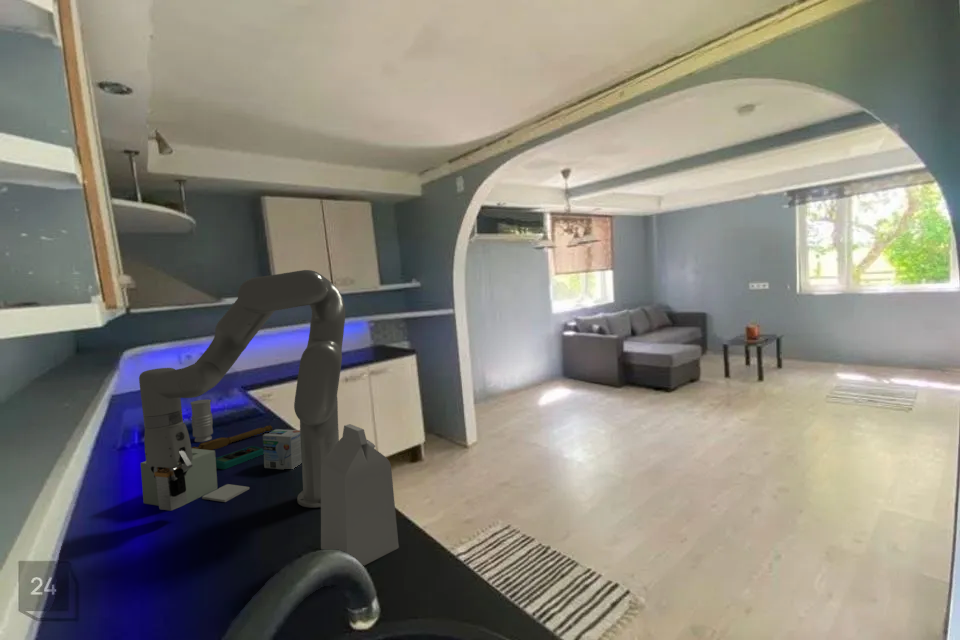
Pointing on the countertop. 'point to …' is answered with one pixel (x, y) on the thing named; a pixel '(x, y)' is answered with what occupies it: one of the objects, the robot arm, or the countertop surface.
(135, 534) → the countertop surface
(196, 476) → the grey hollow block
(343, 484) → the milk
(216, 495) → the mat
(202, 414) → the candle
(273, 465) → the light bulb box
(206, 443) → the tap handle
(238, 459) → the digital multimeter
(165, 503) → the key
